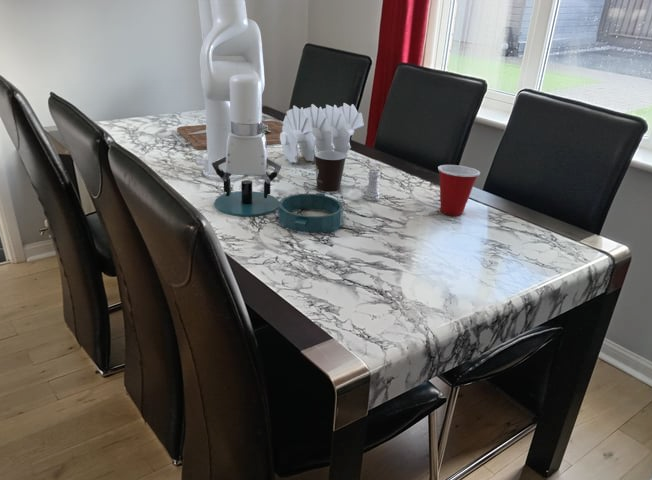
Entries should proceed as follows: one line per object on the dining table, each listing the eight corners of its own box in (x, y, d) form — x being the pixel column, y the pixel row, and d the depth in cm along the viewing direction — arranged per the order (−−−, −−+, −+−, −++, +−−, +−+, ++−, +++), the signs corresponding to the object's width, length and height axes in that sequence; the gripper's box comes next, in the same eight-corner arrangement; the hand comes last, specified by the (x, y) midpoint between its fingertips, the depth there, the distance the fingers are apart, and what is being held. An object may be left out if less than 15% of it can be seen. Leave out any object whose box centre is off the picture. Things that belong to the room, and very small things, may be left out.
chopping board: (188, 151, 189) (188, 141, 188) (168, 130, 210) (167, 122, 208) (311, 140, 208) (311, 132, 207) (281, 123, 229) (281, 115, 227)
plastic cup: (474, 208, 157) (482, 165, 151) (469, 222, 148) (478, 177, 142) (434, 201, 160) (441, 159, 154) (427, 215, 151) (434, 170, 145)
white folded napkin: (277, 171, 189) (343, 160, 199) (299, 163, 173) (369, 151, 183) (265, 115, 186) (332, 106, 196) (287, 101, 170) (358, 92, 181)
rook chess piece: (368, 202, 157) (371, 173, 153) (360, 196, 161) (363, 168, 157) (382, 200, 159) (385, 172, 155) (374, 194, 162) (376, 167, 159)
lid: (204, 213, 144) (203, 188, 141) (228, 192, 158) (228, 168, 155) (267, 222, 141) (267, 196, 138) (286, 200, 155) (287, 176, 152)
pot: (267, 233, 136) (267, 215, 133) (291, 203, 154) (292, 187, 151) (331, 243, 133) (332, 225, 131) (348, 211, 151) (350, 194, 149)
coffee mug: (340, 196, 160) (343, 161, 155) (310, 192, 161) (311, 157, 156) (347, 183, 170) (349, 149, 165) (318, 179, 171) (320, 146, 166)
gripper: (282, 126, 143) (281, 192, 151) (213, 123, 143) (216, 189, 151) (280, 134, 137) (279, 202, 145) (207, 130, 136) (211, 199, 145)
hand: (247, 195), depth 148 cm, fingers open, 9 cm apart
